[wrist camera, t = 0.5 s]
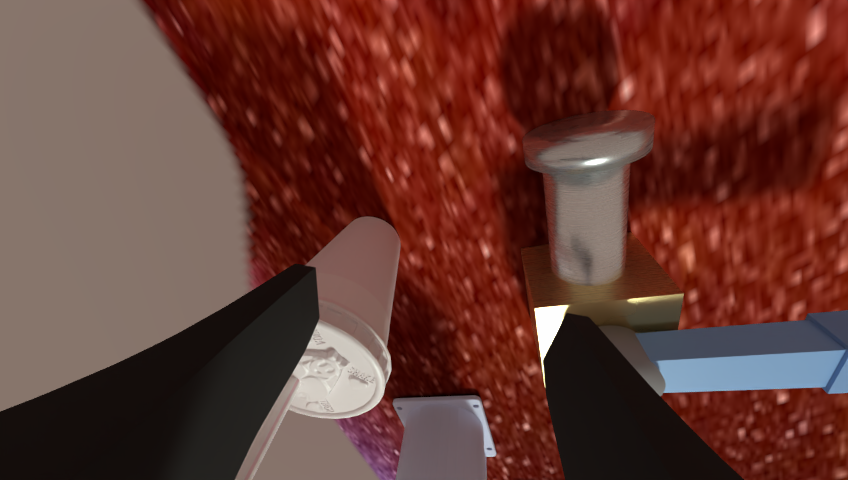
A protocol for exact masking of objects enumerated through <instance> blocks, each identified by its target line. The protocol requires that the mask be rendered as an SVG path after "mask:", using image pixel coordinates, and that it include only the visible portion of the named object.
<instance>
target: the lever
mask: <svg viewBox="0 0 848 480" xmlns="http://www.w3.org/2000/svg"><path fill="white" fill-rule="evenodd" d="M599 328H600V329H601V331H602V332H603V333H604V334H605V335H606V336H607V337H608V339H609V340H610V341H611V342H612V343H613V344H614V345H615V347H616V348H617V349H618V350H619V351H620V352H621V353H622V355H623V356H624V357H625V358H626V359H627V360H628V361H629V362H630V364H631V365H632V366H633V367H634V368H635V369H636V370H637V371H638V373H639V374H640V375H641V376H642V377H643V378H644V379H645V380H646V381H647V383H648V384H649V385H650V386H651V387H652V388H653V389H654V390H655V391H656V392H657V394H658V395H659V396H661V395H662V394H663V393H672V392H700V391H728V390H756V389H784V388H812V387H822V388H823V389H824V390H825V391H826V392H827V393H828V394H829V393H848V310H847V311H834V312H822V313H810V314H807V317H806V319H805V320H802V321H789V322H776V323H763V324H750V325H738V326H725V327H712V328H699V329H686V330H673V331H660V332H647V333H636V332H634V331H633V330H631V329H628V328H626V327H622V326H613V325H608V326H600V327H599Z"/></svg>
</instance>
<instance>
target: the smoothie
mask: <svg viewBox="0 0 848 480" xmlns="http://www.w3.org/2000/svg"><path fill="white" fill-rule="evenodd" d="M399 253H400V239H399V236H398V234H397V232H396V231H395V229H394V228H393V227H392V226H391V225H390V224H388V223H387V222H386V221H384V220H382V219H379V218H376V217H369V216H367V217H360V218H357V219H355V220H353V221H352V222H351V223H350V224H349V225H348V226H347V227H345V228H344V229H343V230H342V231H341V232H340V233H339V234H338V235H337V236H336V237H335V238H334V239H333V240H332V241H331V242H329V243H328V244H327V245H326V246H325V247H324V248H323V249H322V250H321V251H320V252H319V253H318V254H317V255H316V256H315V257H313V258H312V259H311V260H310V261H309V262H308V263H307V264H306V266H311V267H316V277H317V289H318V302H319V315H320V318H319V321H318V323H317V325H316V328H315V330H314V333H313V335H312V337H311V339H310V342H309V344H308V346H307V348H306V350H305V352H304V354H303V356H302V357H301V359H300V361H299V363H298V364H297V366H296V368H295V370H294V371H293V373H292V375H291V376H290V378H289V380H288V381H287V383H286V385H285V387H284V388H283V390H282V392H281V393H280V395H279V397H278V399H277V400H276V402H275V404H274V405H273V407H272V409H271V410H270V412H269V414H268V416H267V417H266V419H265V421H264V422H263V424H262V426H261V428H260V430H259V431H258V433H257V435H256V437H255V439H254V441H253V443H252V445H251V447H250V449H249V451H248V453H247V455H246V457H245V459H244V461H243V464H242V466H241V468H240V470H239V472H238V474H237V476H236V478H235V480H252V479H253V477H254V475H255V473H256V471H257V469H258V467H259V465H260V463H261V461H262V459H263V457H264V455H265V453H266V451H267V449H268V447H269V445H270V444H271V442H272V440H273V437H274V436H275V434H276V432H277V430H278V427H279V426H280V424H281V422H282V420H283V418H284V416H285V414H286V412H287V410H291V411H294V412H297V413H301V414H304V415H308V416H313V417H320V418H333V419H338V418H348V417H353V416H357V415H360V414H362V413H365V412H367V411H369V410H370V409H372V408H373V407H375V406H376V405H377V404H378V403H379V401H380V400H381V398H382V396H383V394H384V391H385V386H386V383H387V382H388V379H389V376H390V373H391V370H392V368H391V356H390V354H389V351H388V349H387V342H388V336H389V327H390V320H391V312H392V305H393V298H394V290H395V283H396V276H397V268H398V261H399Z"/></svg>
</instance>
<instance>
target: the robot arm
mask: <svg viewBox="0 0 848 480" xmlns="http://www.w3.org/2000/svg"><path fill="white" fill-rule="evenodd" d="M319 318H320V315H319V302H318V289H317V277H316V267H311V266H306V265H300V264H294V265H292V266H291V267H289V268H287V269H286V270H284V271H282V272H281V273H279V274H278V275H276V276H274V277H273V278H271V279H270V280H268V281H267V282H265V283H263V284H262V285H260V286H259V287H257V288H255V289H254V290H252V291H250V292H249V293H247V294H246V295H244V296H242V297H241V298H239V299H237V300H236V301H234V302H232V303H231V304H229V305H228V306H226V307H224V308H222V309H221V310H219V311H217V312H215V313H214V314H212V315H210V316H208V317H207V318H205V319H203V320H201V321H199V322H197V323H196V324H194V325H192V326H191V327H189V328H187V329H185V330H183V331H182V332H180V333H178V334H176V335H174V336H172V337H170V338H168V339H166V340H164V341H162V342H160V343H158V344H156V345H154V346H152V347H150V348H148V349H146V350H144V351H142V352H140V353H138V354H136V355H133V356H131V357H129V358H127V359H125V360H123V361H121V362H119V363H116V364H114V365H112V366H110V367H107V368H105V369H103V370H100V371H98V372H96V373H93V374H91V375H89V376H86V377H84V378H82V379H80V380H77V381H75V382H72V383H70V384H68V385H65V386H63V387H61V388H58V389H56V390H54V391H51V392H49V393H47V394H44V395H42V396H39V397H37V398H34V399H32V400H29V401H26V402H24V403H21V404H19V405H16V406H14V407H11V408H9V409H6V410H3V411H1V412H0V480H235V478H236V476H237V474H238V472H239V470H240V468H241V466H242V464H243V461H244V459H245V457H246V455H247V453H248V451H249V449H250V447H251V445H252V443H253V441H254V439H255V437H256V435H257V433H258V431H259V430H260V428H261V426H262V424H263V422H264V421H265V419H266V417H267V416H268V414H269V412H270V410H271V409H272V407H273V405H274V404H275V402H276V400H277V399H278V397H279V395H280V393H281V392H282V390H283V388H284V387H285V385H286V383H287V381H288V380H289V378H290V376H291V375H292V373H293V371H294V370H295V368H296V366H297V364H298V363H299V361H300V359H301V357H302V356H303V354H304V352H305V350H306V348H307V346H308V344H309V342H310V339H311V337H312V335H313V333H314V330H315V328H316V325H317V323H318V321H319ZM543 368H544V380H545V388H546V396H547V401H548V406H549V410H550V415H551V419H552V424H553V428H554V433H555V437H556V441H557V445H558V450H559V454H560V458H561V463H562V467H563V471H564V476H565V480H744V479H743V478H742V477H741V476H740V475H738V474H737V473H736V472H735V471H734V470H733V469H732V468H731V467H730V466H729V465H728V464H727V463H726V462H724V461H723V460H722V459H721V458H720V457H719V456H718V455H717V454H716V453H715V452H714V451H713V450H712V449H711V448H710V447H709V446H708V445H707V444H706V443H705V442H704V441H703V440H702V439H701V438H700V437H699V436H698V435H697V434H696V433H695V432H694V431H693V430H692V429H691V428H690V427H689V426H688V425H687V424H686V423H685V422H684V421H683V420H682V419H681V418H680V417H679V416H678V415H677V414H676V413H675V412H674V411H673V410H672V408H671V407H670V406H669V405H668V404H667V403H666V402H665V401H664V400H663V399H662V398H661V397H660V396H659V395H658V394H657V392H656V391H655V390H654V389H653V388H652V387H651V386H650V385H649V384H648V383H647V381H646V380H645V379H644V378H643V377H642V376H641V375H640V374H639V373H638V371H637V370H636V369H635V368H634V367H633V366H632V365H631V364H630V362H629V361H628V360H627V359H626V358H625V357H624V356H623V355H622V353H621V352H620V351H619V350H618V349H617V348H616V347H615V345H614V344H613V343H612V342H611V341H610V340H609V339H608V337H607V336H606V335H605V334H604V333H603V332H602V331H601V329H600V328H599V327H598V326H597V325H596V324H595V323H594V322H593V321H592V320H591V319H590V318H589V317H587V316H582V315H576V314H571V313H566V315H565V317H564V319H563V321H562V323H561V325H560V327H559V329H558V331H557V333H556V335H555V337H554V339H553V341H552V343H551V345H550V347H549V349H548V351H547V352H546V354H545V356H544V358H543ZM393 406H394V408H395V410H396V412H397V414H398V416H399V418H400V420H401V421H402V423H403V425H404V427H405V430H404V436H403V441H402V447H401V453H400V458H399V464H398V469H397V475H396V480H487V470H486V457H494V456H495V455H496V449H495V445H494V442H493V439H492V435H491V432H490V429H489V425H488V422H487V418H486V415H485V412H484V408H483V405H482V402H481V399H480V397H479V396H476V395H468V396H442V397H417V398H396V399H394V400H393Z"/></svg>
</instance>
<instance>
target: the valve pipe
mask: <svg viewBox="0 0 848 480" xmlns="http://www.w3.org/2000/svg"><path fill="white" fill-rule="evenodd" d="M654 126H655V117H654V116H653V115H651V114H649V113H646V112H642V111H634V110H612V111H601V112H593V113H587V114H581V115H576V116H571V117H567V118H563V119H559V120H556V121H553V122H550V123H547V124H544V125H542V126H539V127H537V128H535V129H533V130H531V131H530V132H528V133H527V134H526V135H525V136H524V137H523V149H524V157H525V164H526V166H527V167H528V168H530V169H532V170H534V171H537V172H541V173H543V182H544V194H545V205H546V216H547V227H548V238H549V244H546V245H539V246H532V247H526V248H521V255H522V262H523V269H524V276H525V283H526V290H527V297H528V304H529V311H530V318H531V323H532V328H533V333H534V337H535V342H536V347H537V352H538V356H539V361H540V366H541V371H542V375H543V380H544V368H543V358H544V356H545V354H546V352H547V351H548V349H549V347H550V345H551V343H552V341H553V339H554V337H555V335H556V333H557V331H558V329H559V327H560V325H561V323H562V321H563V319H564V317H565V315H566V313H571V314H576V315H582V316H587V317H589V318H590V319H591V320H592V321H593V322H594V323H595V324H596V325H597V326H598V327H600V326H608V325H613V326H622V327H626V328H628V329H631V330H633V331H634V332H636V333H647V332H660V331H673V330H678V325H679V319H680V313H681V307H682V302H683V296H684V293H683V292H682V291H681V290H680V288H679V287H678V286H677V285H676V284H675V282H674V281H673V280H672V279H671V278H670V277H669V275H668V274H667V273H666V272H665V271H664V270H663V268H662V267H661V266H660V265H659V264H658V263H657V261H656V260H655V259H654V258H653V257H652V255H651V254H650V253H649V252H648V251H647V250H646V248H645V247H644V246H643V245H642V244H641V243H640V241H639V240H638V239H637V238H636V237H635V235H634V234H633V233H632V232H627V220H628V200H629V181H630V163H632V162H634V161H637V160H639V159H641V158H642V157H644V156H645V155H647V154H648V153H649V152H650V151H651V150H652V147H653V138H654ZM544 385H545V380H544Z"/></svg>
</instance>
